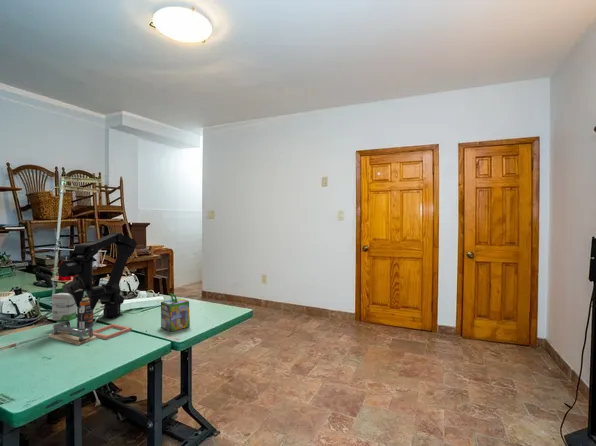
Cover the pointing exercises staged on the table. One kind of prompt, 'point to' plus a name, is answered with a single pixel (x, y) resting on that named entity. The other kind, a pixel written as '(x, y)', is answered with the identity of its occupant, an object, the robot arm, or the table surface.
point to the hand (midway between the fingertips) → (85, 308)
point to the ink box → (63, 307)
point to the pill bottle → (84, 315)
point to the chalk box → (175, 314)
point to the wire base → (71, 338)
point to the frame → (102, 336)
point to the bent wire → (72, 329)
